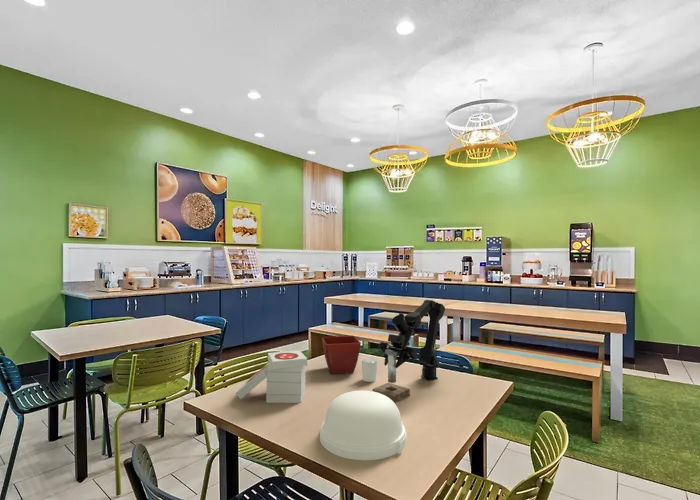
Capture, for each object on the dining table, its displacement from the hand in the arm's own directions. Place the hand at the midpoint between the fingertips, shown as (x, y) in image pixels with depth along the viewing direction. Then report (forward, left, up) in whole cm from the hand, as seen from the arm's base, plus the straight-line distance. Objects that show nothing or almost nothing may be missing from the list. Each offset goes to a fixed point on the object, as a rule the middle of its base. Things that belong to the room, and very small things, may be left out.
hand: (390, 366), depth 162 cm
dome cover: (+25, +30, -14) cm, 41 cm away
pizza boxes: (+49, -17, -14) cm, 54 cm away
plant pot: (+9, -44, -14) cm, 47 cm away
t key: (-1, -1, -7) cm, 7 cm away
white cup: (0, -24, -14) cm, 28 cm away
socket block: (-1, -1, -13) cm, 14 cm away
